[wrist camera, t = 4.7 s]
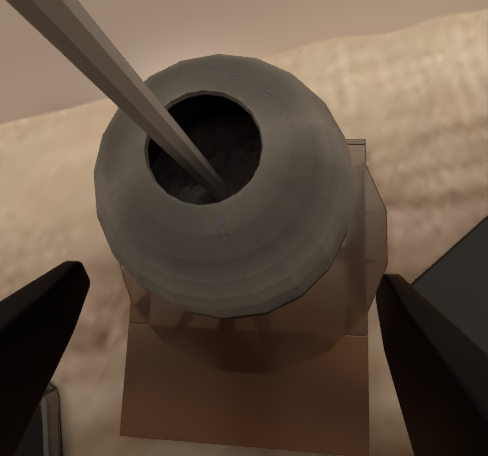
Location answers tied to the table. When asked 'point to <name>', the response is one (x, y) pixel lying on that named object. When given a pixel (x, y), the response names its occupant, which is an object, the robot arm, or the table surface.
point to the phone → (43, 428)
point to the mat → (462, 284)
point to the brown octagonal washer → (265, 355)
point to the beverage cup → (210, 173)
